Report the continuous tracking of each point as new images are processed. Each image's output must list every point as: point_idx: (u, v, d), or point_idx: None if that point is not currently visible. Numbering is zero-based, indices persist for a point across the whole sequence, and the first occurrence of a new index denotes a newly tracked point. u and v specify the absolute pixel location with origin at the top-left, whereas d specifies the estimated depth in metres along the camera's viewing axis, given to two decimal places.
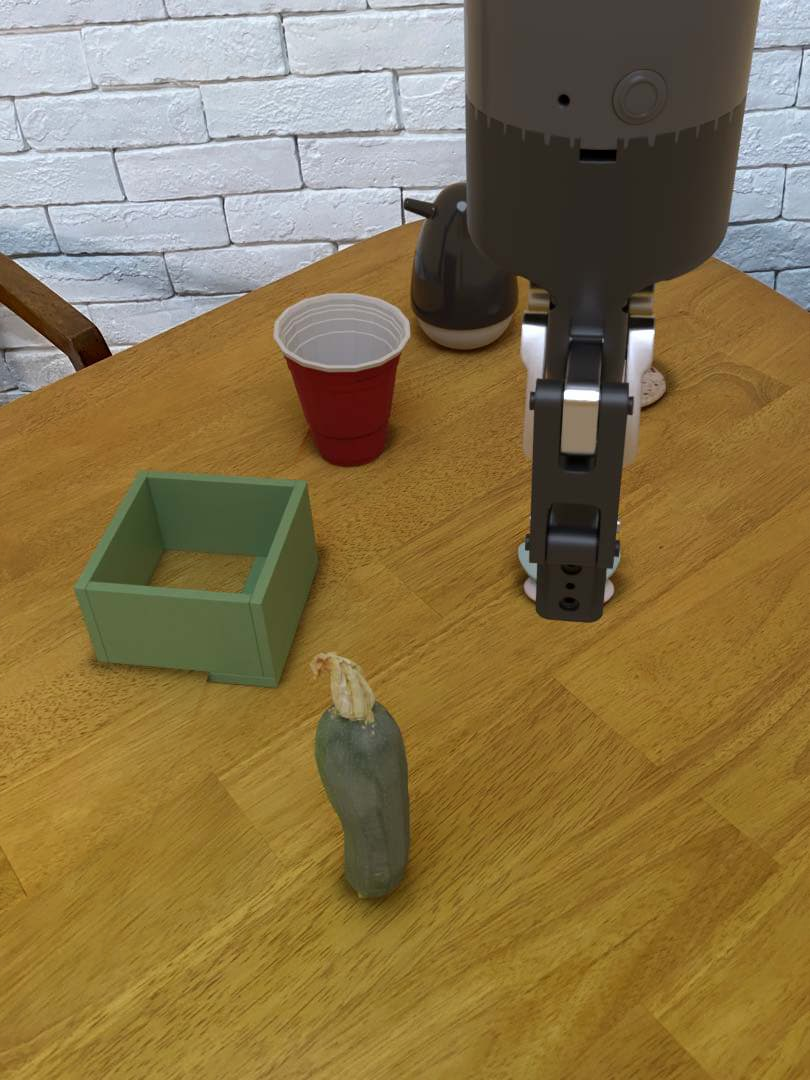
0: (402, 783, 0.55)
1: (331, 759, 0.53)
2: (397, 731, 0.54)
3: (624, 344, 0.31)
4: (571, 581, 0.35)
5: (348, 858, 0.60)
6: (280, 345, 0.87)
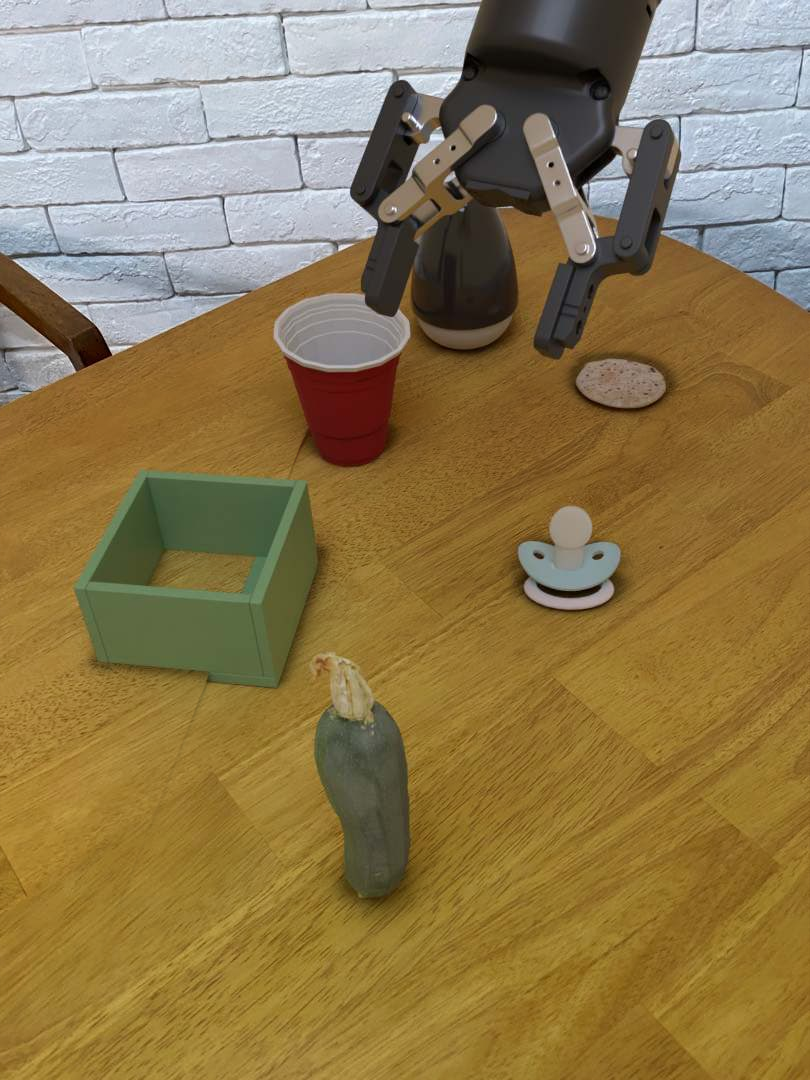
0: (402, 783, 0.55)
1: (330, 759, 0.53)
2: (396, 731, 0.54)
3: None
4: (586, 305, 0.49)
5: (348, 858, 0.60)
6: (280, 345, 0.87)
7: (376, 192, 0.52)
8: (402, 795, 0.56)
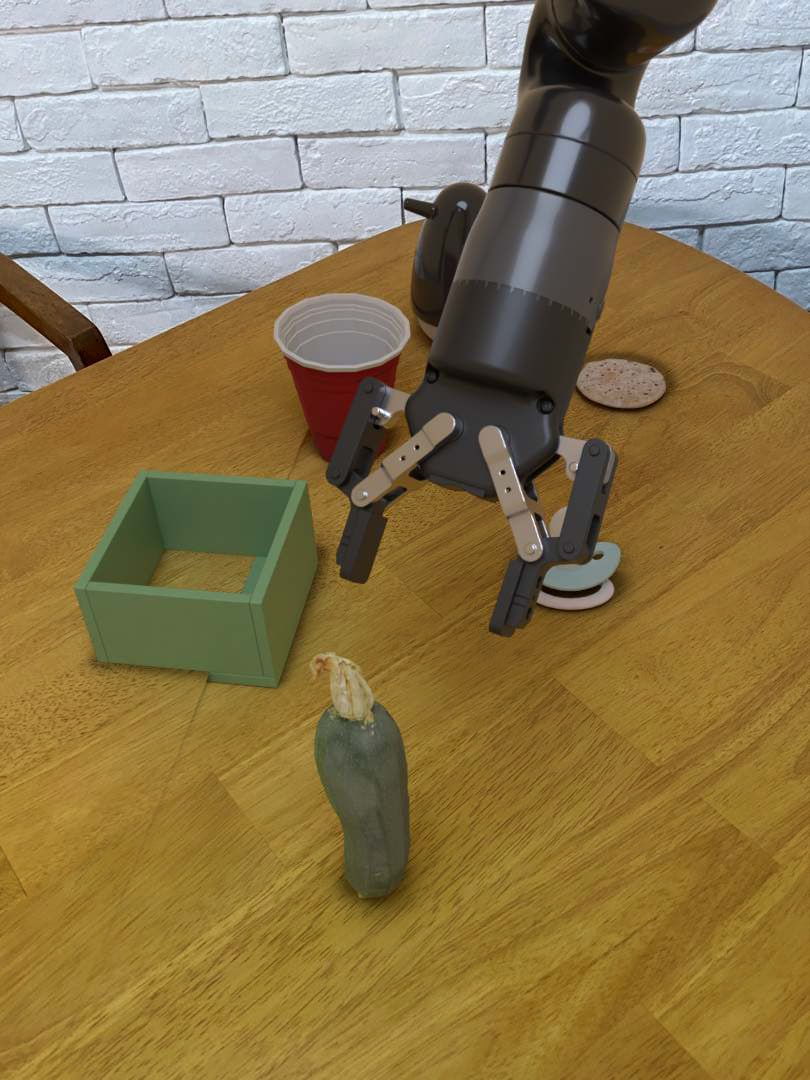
0: (402, 783, 0.55)
1: (330, 759, 0.53)
2: (396, 731, 0.54)
3: None
4: (535, 593, 0.55)
5: (348, 858, 0.60)
6: (280, 345, 0.87)
7: (349, 476, 0.59)
8: (402, 795, 0.56)
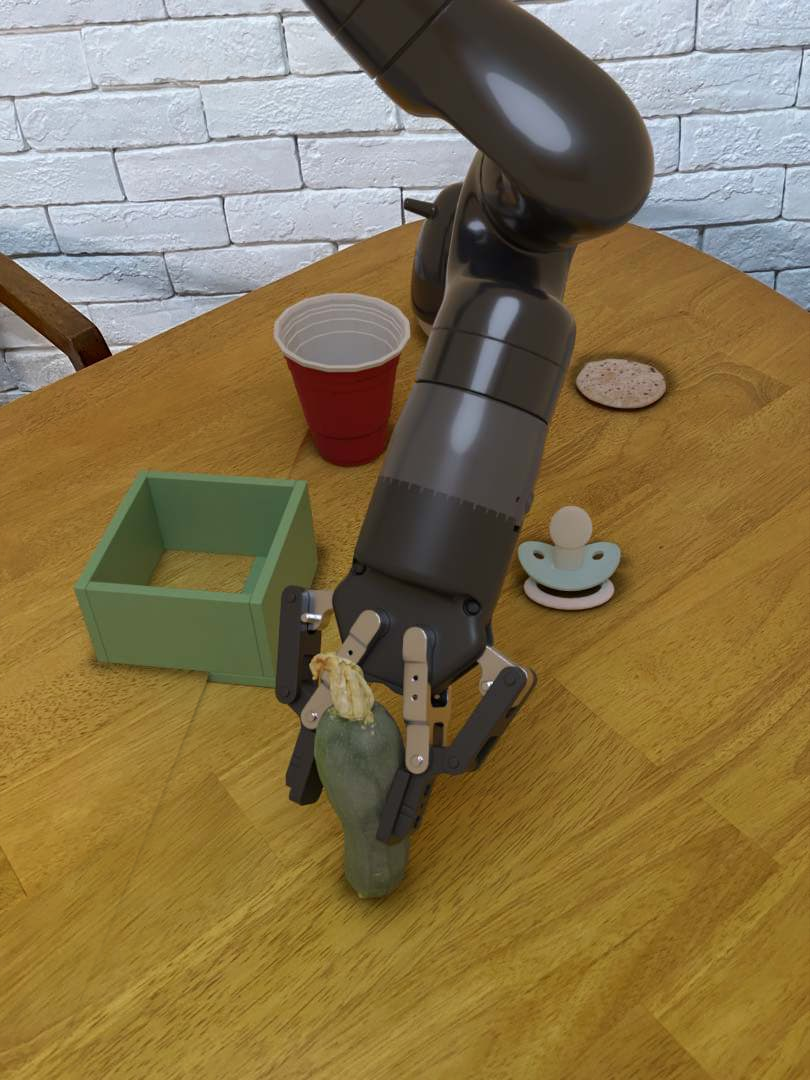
0: None
1: (330, 759, 0.53)
2: (397, 731, 0.54)
3: None
4: (423, 801, 0.54)
5: (348, 858, 0.60)
6: (280, 345, 0.87)
7: (299, 693, 0.57)
8: None
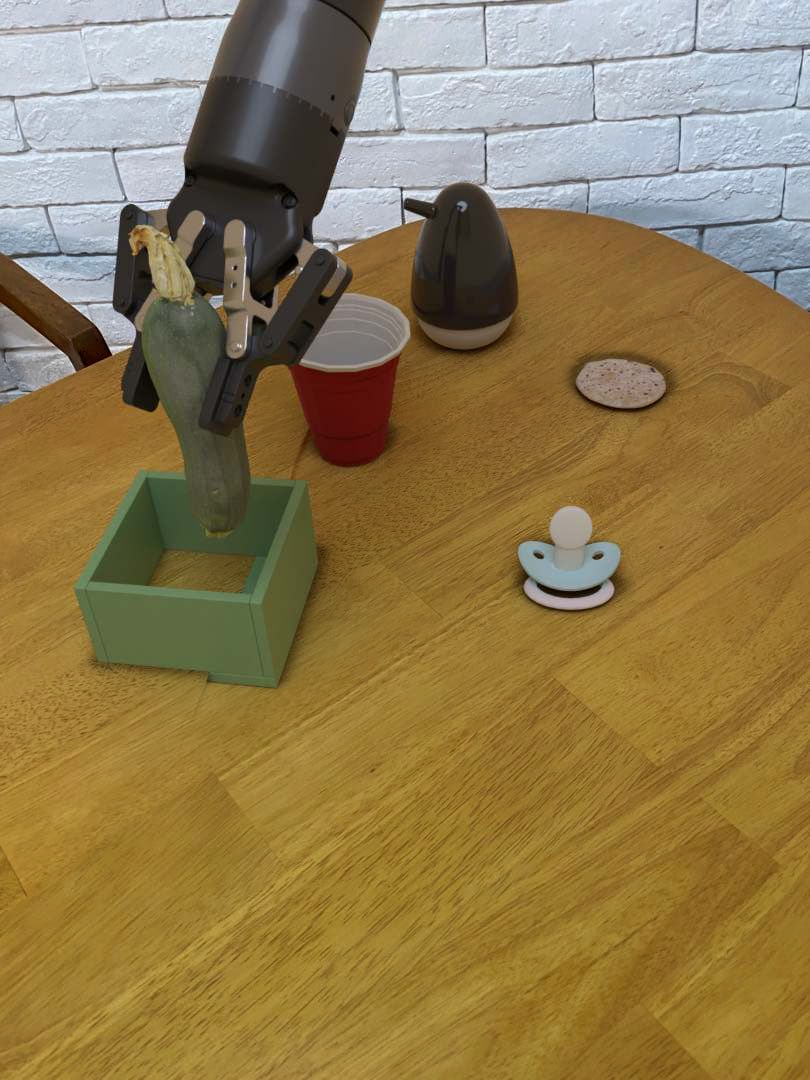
0: None
1: (153, 340, 0.56)
2: (219, 322, 0.57)
3: None
4: (244, 392, 0.57)
5: (188, 479, 0.63)
6: None
7: (135, 304, 0.60)
8: None
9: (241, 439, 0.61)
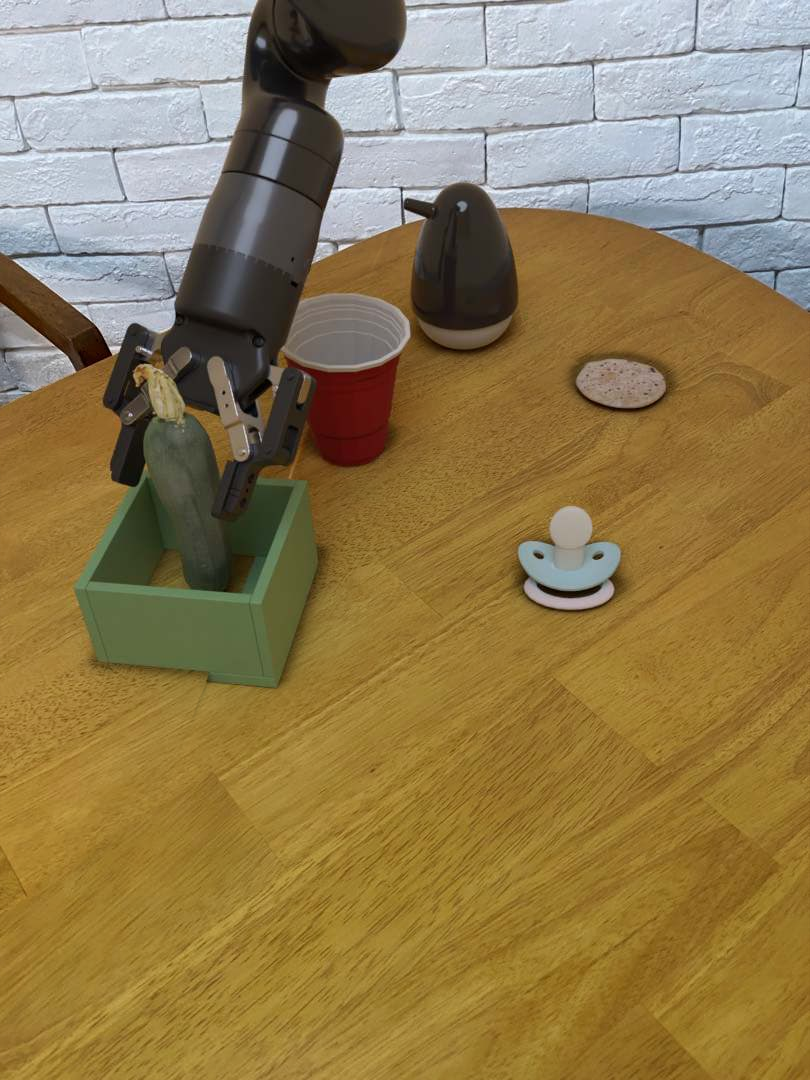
0: (212, 479, 0.73)
1: (152, 451, 0.71)
2: (205, 435, 0.72)
3: None
4: (248, 487, 0.71)
5: (181, 555, 0.77)
6: None
7: (120, 401, 0.75)
8: (213, 490, 0.73)
9: (224, 523, 0.76)
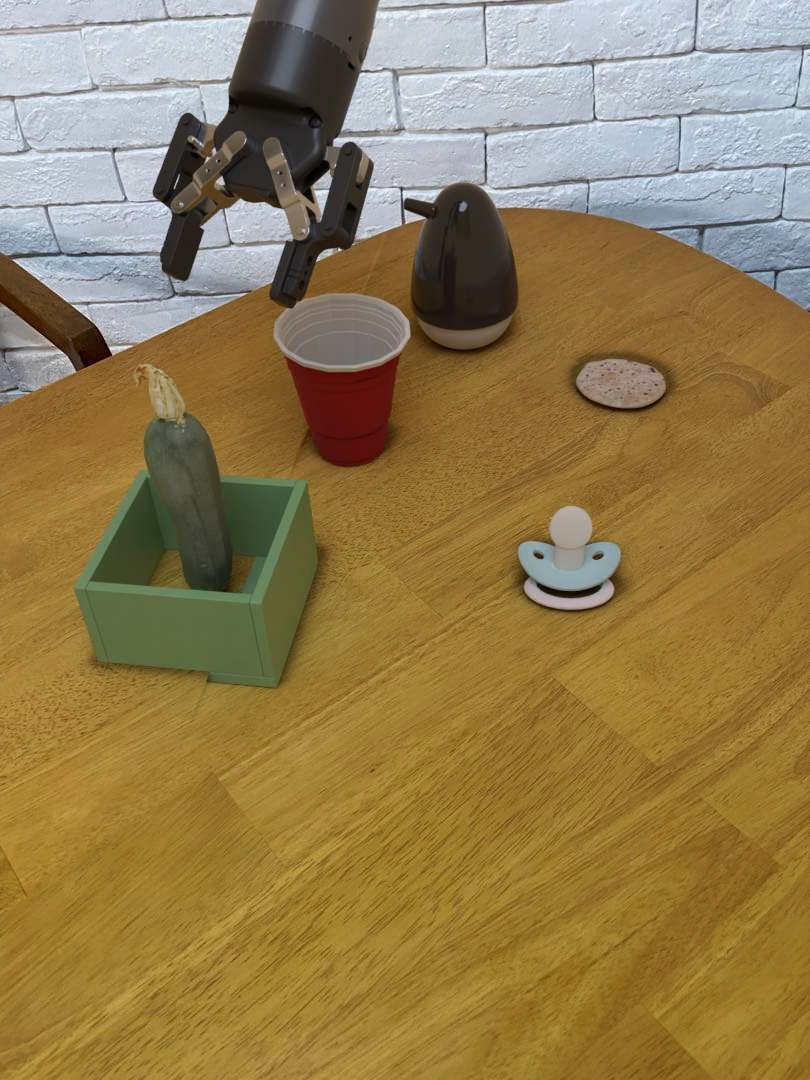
0: (212, 479, 0.73)
1: (152, 451, 0.71)
2: (205, 435, 0.72)
3: None
4: (307, 270, 0.70)
5: (181, 555, 0.77)
6: (280, 345, 0.87)
7: (171, 192, 0.74)
8: (213, 490, 0.73)
9: (224, 523, 0.76)
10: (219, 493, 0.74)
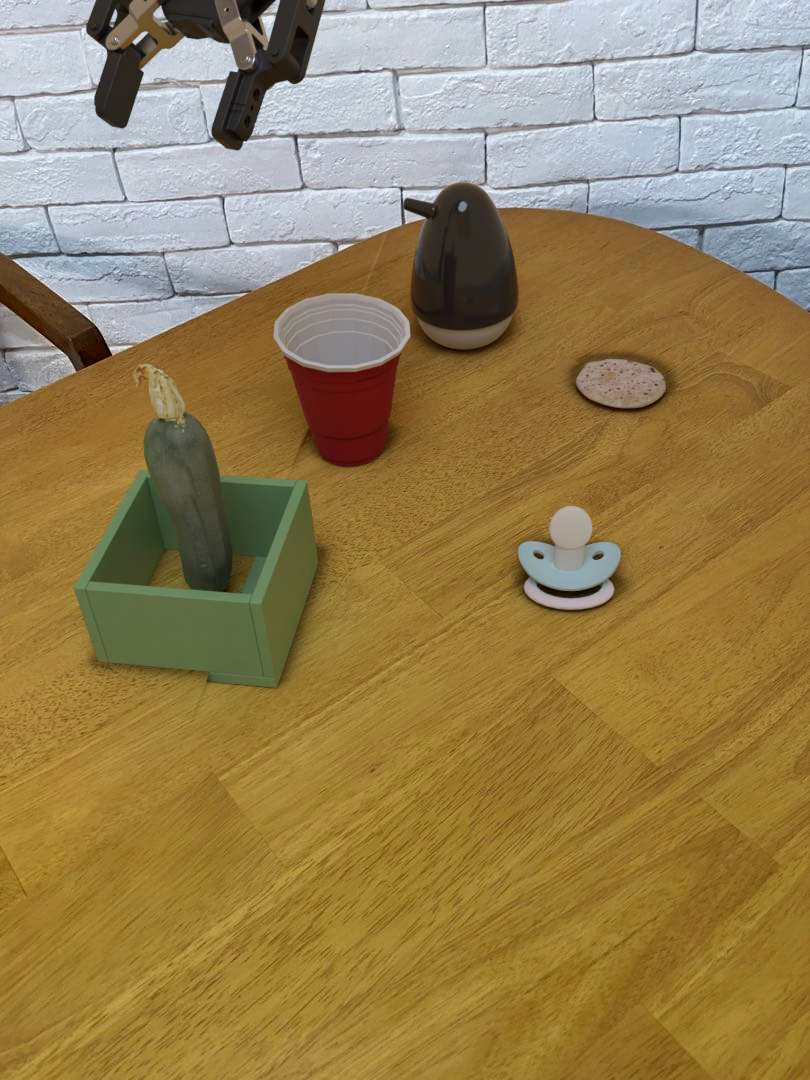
0: (212, 479, 0.73)
1: (152, 451, 0.71)
2: (205, 435, 0.72)
3: None
4: (253, 105, 0.63)
5: (181, 555, 0.77)
6: (280, 345, 0.87)
7: (106, 28, 0.67)
8: (213, 490, 0.73)
9: (224, 523, 0.76)
10: (219, 493, 0.74)
